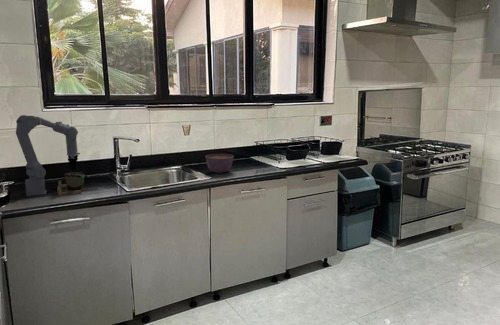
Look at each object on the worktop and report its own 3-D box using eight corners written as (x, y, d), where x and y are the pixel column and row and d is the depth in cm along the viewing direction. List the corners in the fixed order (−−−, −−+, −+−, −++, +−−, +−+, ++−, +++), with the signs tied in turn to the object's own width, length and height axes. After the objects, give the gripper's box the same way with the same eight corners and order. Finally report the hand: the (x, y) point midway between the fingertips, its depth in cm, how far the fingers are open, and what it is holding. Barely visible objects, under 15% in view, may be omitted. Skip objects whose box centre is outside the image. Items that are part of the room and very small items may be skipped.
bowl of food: (200, 174, 258) (200, 157, 255) (212, 168, 276) (212, 153, 274) (227, 176, 251) (227, 159, 249) (238, 170, 270) (237, 154, 268)
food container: (90, 189, 220) (89, 172, 218) (83, 192, 214) (81, 175, 212) (73, 187, 223) (71, 171, 221) (65, 190, 217) (63, 173, 215)
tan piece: (58, 197, 204) (57, 190, 203) (59, 186, 225) (58, 180, 224) (81, 194, 209) (80, 187, 208) (80, 184, 230) (80, 178, 229)
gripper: (79, 147, 220) (81, 170, 223) (79, 144, 233) (81, 165, 236) (65, 148, 218) (68, 171, 220) (66, 145, 231) (68, 166, 233)
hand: (73, 168), depth 228 cm, fingers open, 7 cm apart
